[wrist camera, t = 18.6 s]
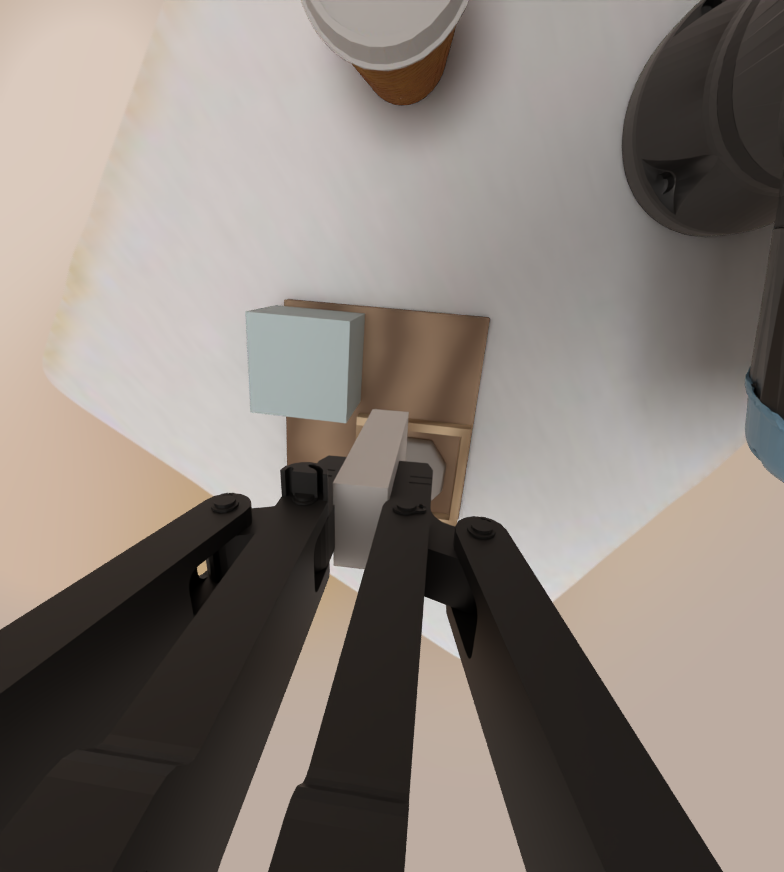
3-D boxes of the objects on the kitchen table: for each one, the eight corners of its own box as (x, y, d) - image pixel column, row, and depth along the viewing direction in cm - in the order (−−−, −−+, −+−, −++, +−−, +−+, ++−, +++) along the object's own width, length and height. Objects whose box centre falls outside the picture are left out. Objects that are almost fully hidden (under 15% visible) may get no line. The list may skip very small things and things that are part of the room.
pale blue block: (365, 313, 37) (350, 321, 31) (360, 401, 40) (346, 423, 34) (276, 305, 37) (245, 311, 32) (278, 392, 40) (250, 412, 35)
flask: (439, 429, 40) (437, 477, 31) (452, 495, 42) (454, 558, 33) (366, 441, 41) (343, 491, 32) (383, 505, 44) (366, 568, 34)
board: (488, 317, 37) (493, 322, 33) (457, 515, 44) (458, 539, 41) (288, 299, 38) (271, 302, 34) (291, 494, 46) (277, 514, 42)
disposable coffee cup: (486, 95, 31) (508, -1, 20) (368, 152, 33) (330, 94, 22) (446, -65, 28) (447, -279, 17) (320, 9, 31) (249, -139, 19)
